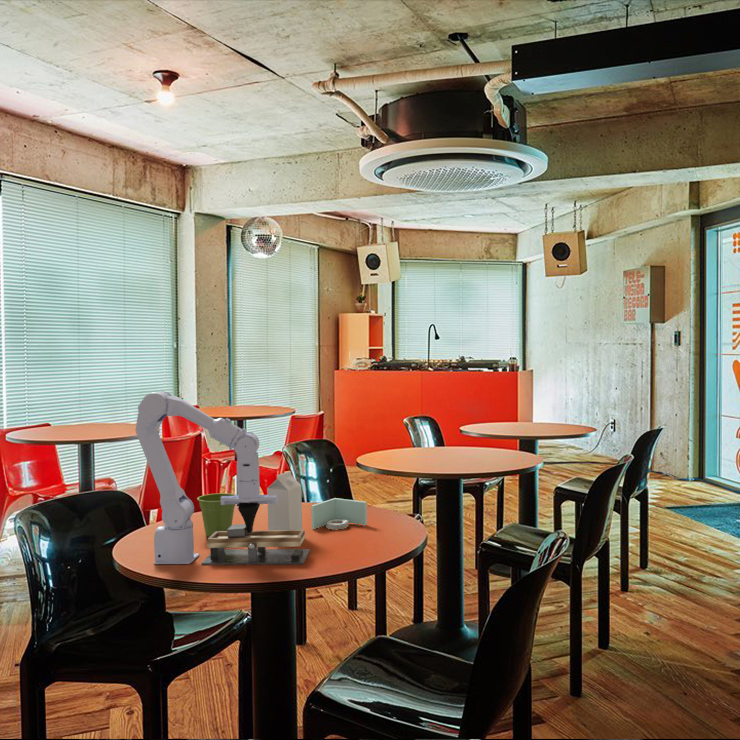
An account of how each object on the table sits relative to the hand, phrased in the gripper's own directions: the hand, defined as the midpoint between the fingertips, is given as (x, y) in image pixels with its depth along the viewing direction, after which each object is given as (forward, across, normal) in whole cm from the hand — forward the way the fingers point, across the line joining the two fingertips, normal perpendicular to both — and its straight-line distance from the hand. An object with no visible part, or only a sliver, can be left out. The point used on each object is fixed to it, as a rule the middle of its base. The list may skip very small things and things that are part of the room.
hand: (249, 531), depth 178 cm
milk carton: (+7, +6, +18) cm, 20 cm away
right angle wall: (+7, +20, +31) cm, 37 cm away
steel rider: (+2, -3, 0) cm, 3 cm away
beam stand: (+7, +2, 0) cm, 7 cm away
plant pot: (+7, -15, +23) cm, 28 cm away
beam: (+2, +2, 0) cm, 3 cm away
